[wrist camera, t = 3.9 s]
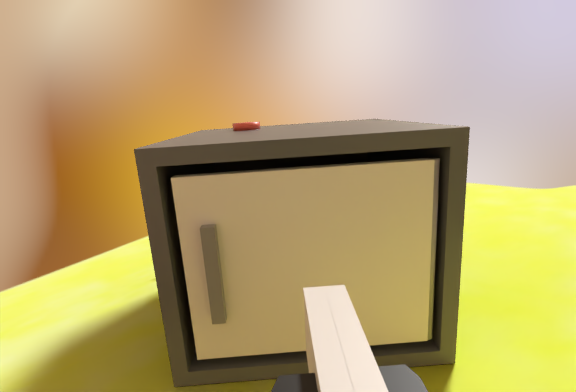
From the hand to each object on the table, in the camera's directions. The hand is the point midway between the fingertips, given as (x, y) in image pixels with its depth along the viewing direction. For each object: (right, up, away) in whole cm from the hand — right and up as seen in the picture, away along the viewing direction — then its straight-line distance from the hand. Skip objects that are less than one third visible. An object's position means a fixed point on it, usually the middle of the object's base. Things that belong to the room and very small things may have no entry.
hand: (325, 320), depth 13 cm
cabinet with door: (0, -5, +18) cm, 19 cm away
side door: (0, -5, +9) cm, 11 cm away
